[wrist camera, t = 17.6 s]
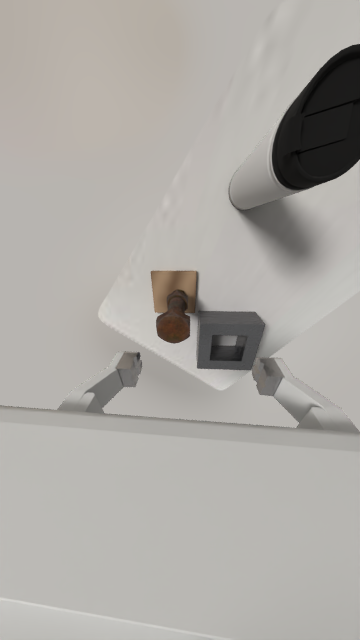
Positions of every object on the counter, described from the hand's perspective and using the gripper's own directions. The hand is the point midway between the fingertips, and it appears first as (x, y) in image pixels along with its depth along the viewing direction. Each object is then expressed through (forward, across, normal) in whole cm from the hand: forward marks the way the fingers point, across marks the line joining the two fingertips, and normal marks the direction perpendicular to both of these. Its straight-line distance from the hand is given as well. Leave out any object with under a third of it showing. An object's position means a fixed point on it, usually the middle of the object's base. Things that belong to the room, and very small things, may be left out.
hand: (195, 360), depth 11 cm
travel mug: (+28, -8, -13) cm, 32 cm away
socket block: (+27, -8, +18) cm, 33 cm away
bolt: (+26, +4, +6) cm, 27 cm away
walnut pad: (+27, +5, +6) cm, 28 cm away
